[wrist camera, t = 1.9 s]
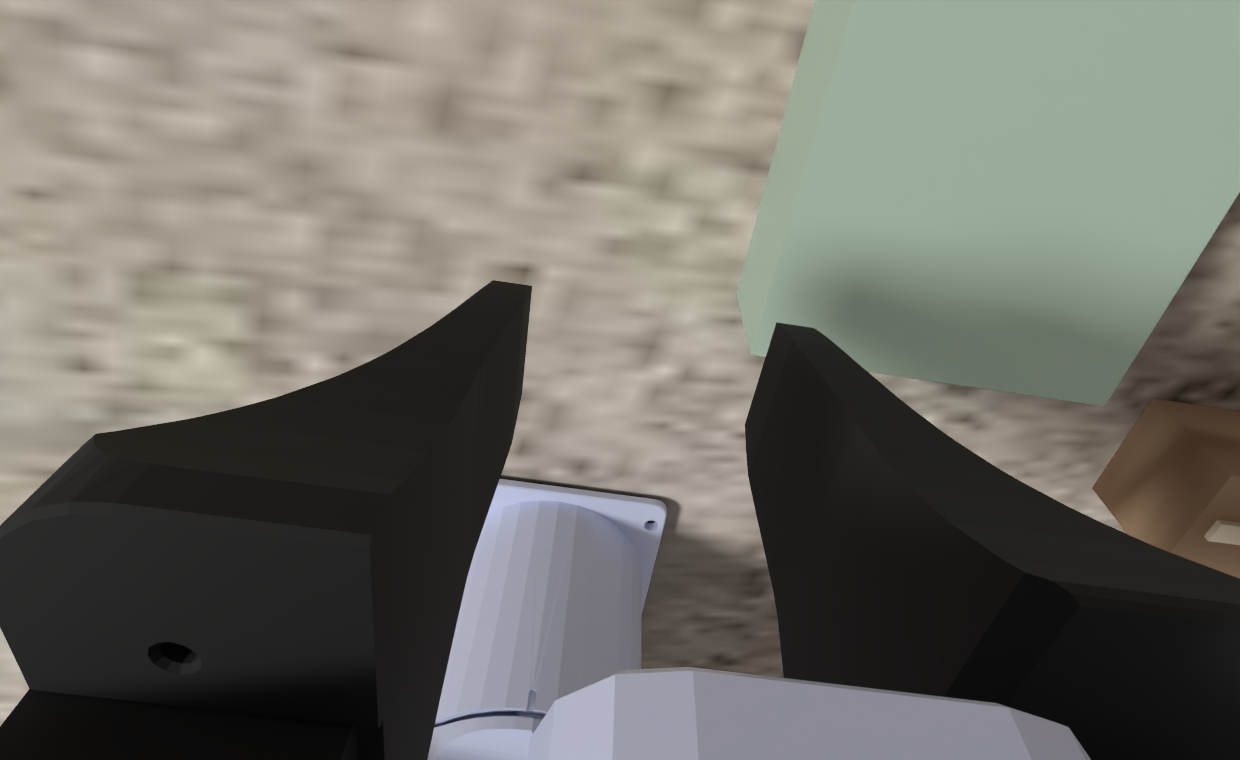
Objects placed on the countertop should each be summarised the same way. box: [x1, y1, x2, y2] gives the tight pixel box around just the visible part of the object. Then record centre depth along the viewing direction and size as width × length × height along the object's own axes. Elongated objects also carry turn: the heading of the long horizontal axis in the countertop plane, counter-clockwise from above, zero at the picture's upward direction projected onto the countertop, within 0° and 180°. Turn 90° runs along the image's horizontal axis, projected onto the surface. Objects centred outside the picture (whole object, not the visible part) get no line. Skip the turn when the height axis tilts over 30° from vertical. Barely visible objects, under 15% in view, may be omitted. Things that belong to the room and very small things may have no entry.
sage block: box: [736, 0, 1240, 407], centre depth 19 cm, size 10×10×4 cm
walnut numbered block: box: [1092, 398, 1240, 579], centre depth 24 cm, size 4×4×4 cm
